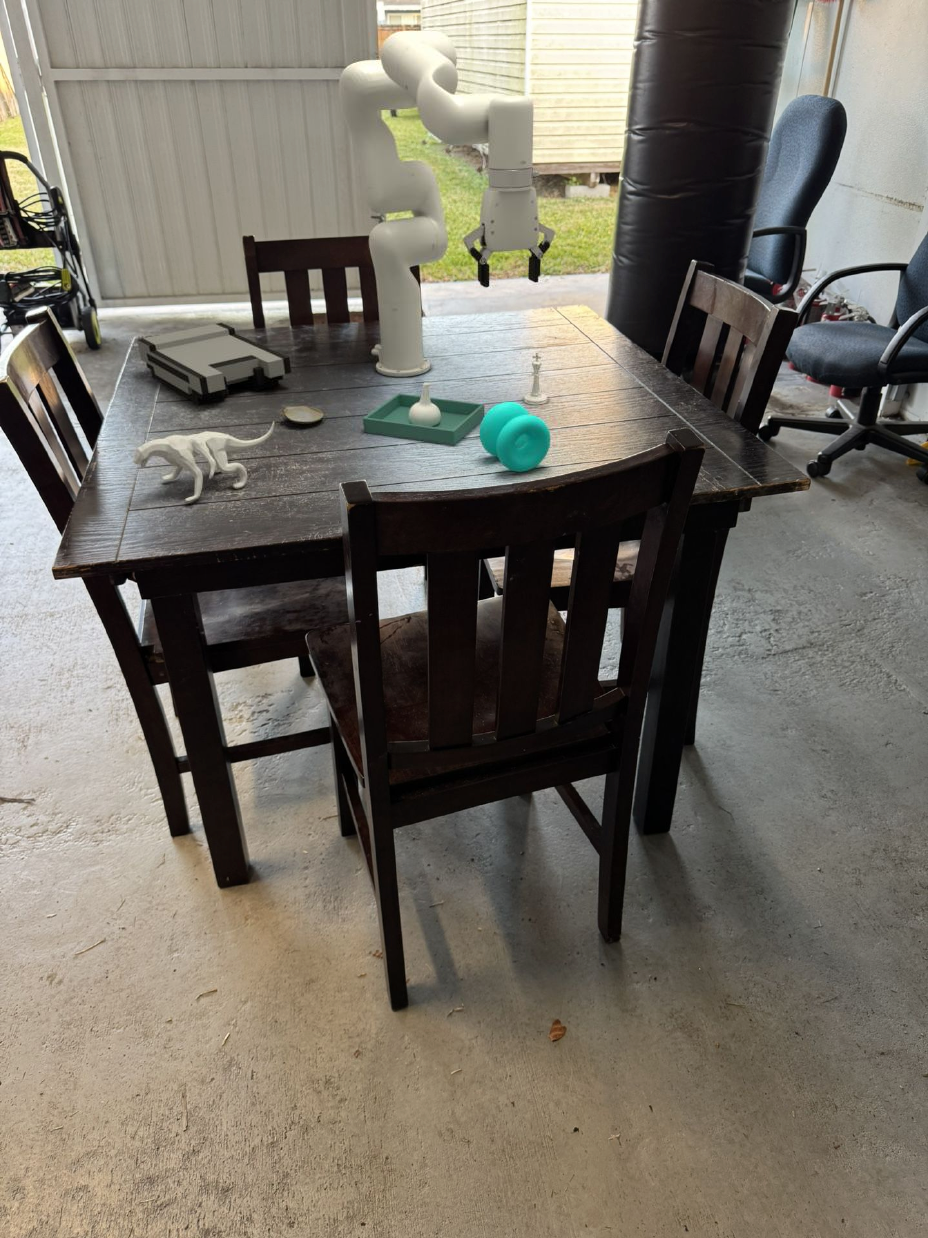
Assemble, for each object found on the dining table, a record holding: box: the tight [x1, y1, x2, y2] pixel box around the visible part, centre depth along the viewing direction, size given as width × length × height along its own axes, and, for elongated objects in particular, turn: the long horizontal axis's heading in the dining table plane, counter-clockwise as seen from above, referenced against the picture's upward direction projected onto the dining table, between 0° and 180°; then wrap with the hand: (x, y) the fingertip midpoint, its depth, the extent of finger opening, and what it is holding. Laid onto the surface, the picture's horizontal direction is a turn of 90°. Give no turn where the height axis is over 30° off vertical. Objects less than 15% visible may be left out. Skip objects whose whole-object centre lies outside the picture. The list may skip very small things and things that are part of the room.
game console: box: [136, 322, 292, 406], centre depth 188 cm, size 21×32×8 cm, turn 40°
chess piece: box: [523, 352, 548, 406], centre depth 174 cm, size 5×5×10 cm
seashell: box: [279, 405, 324, 425], centre depth 168 cm, size 8×3×8 cm
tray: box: [362, 392, 486, 446], centre depth 165 cm, size 19×15×3 cm
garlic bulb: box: [409, 382, 441, 427], centre depth 164 cm, size 6×6×8 cm
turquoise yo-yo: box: [479, 401, 551, 473], centre depth 147 cm, size 10×10×10 cm
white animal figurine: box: [132, 420, 275, 503], centre depth 142 cm, size 12×25×10 cm, turn 126°
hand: (509, 283), depth 155 cm, fingers open, 9 cm apart
